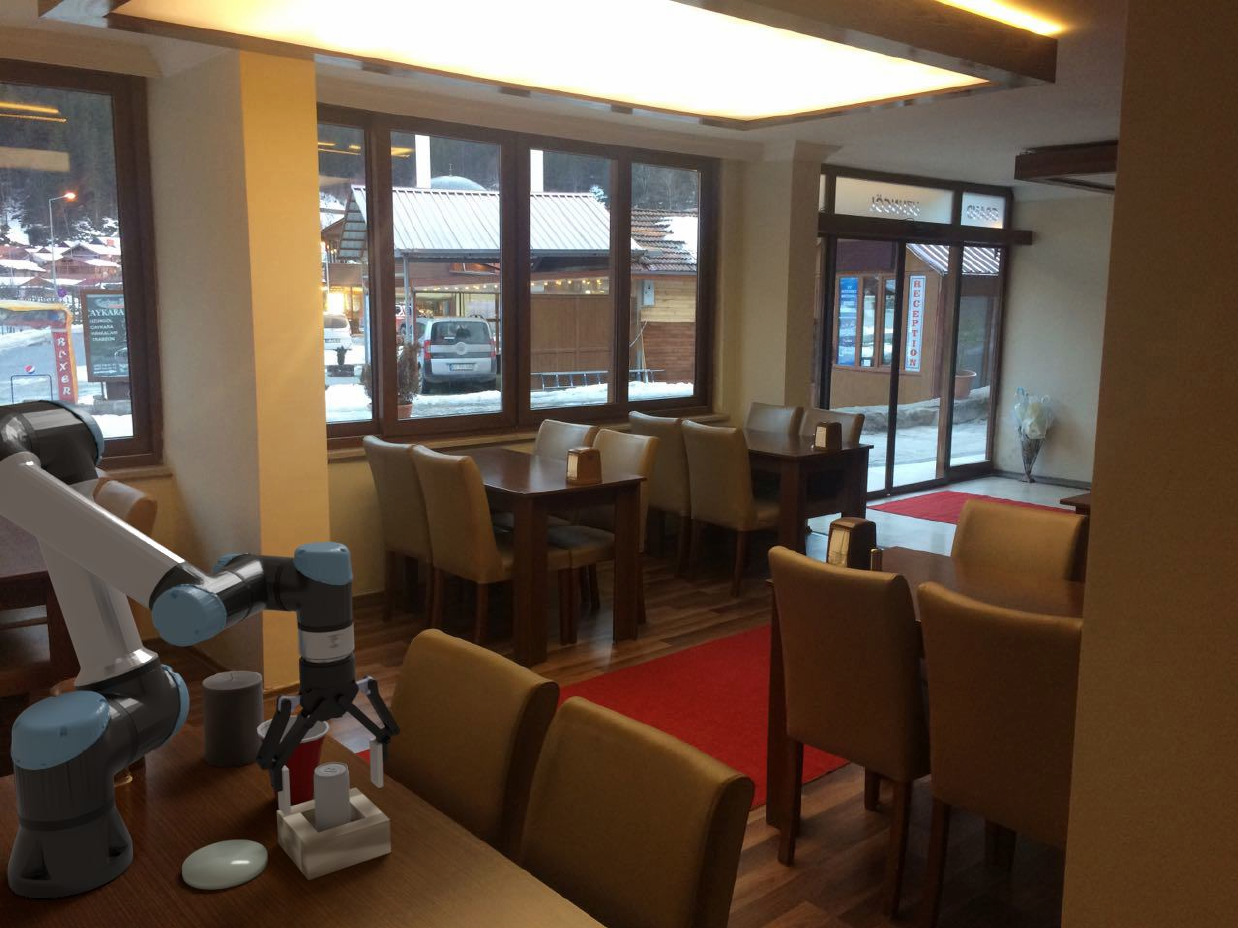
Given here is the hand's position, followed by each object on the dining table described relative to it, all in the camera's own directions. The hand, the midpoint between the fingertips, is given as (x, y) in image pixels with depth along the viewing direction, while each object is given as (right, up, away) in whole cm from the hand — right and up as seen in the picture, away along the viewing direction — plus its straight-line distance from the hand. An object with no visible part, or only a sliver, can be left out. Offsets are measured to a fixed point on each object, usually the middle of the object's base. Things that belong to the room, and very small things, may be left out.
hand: (332, 797), depth 145 cm
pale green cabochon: (-14, -8, -4) cm, 16 cm away
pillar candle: (-25, -3, +31) cm, 40 cm away
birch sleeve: (0, -8, +1) cm, 8 cm away
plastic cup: (-10, -5, +16) cm, 20 cm away
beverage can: (0, -8, +1) cm, 8 cm away
